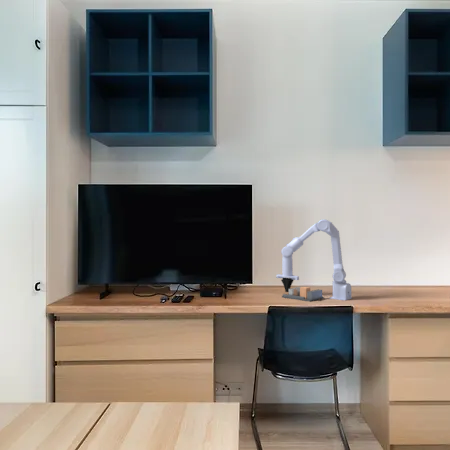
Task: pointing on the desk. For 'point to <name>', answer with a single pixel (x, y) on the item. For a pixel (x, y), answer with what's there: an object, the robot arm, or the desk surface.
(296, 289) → the moving jaw
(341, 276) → the robot arm
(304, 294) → the block
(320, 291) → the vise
